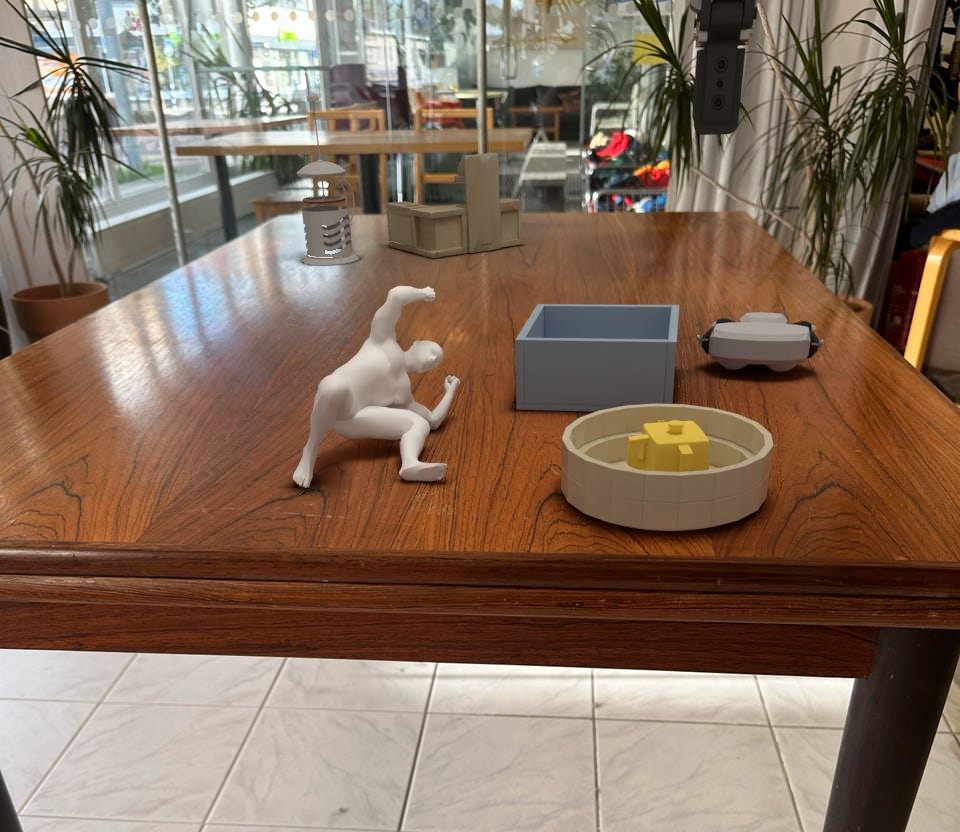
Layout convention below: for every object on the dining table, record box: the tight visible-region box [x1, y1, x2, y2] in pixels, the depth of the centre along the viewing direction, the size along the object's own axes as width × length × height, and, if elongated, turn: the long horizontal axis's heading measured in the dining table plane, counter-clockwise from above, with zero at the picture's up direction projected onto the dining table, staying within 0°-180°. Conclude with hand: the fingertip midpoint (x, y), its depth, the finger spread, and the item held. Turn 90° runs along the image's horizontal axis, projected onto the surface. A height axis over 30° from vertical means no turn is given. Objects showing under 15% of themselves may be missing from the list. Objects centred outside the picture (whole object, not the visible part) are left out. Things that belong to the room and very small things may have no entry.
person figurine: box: [292, 285, 461, 489], centre depth 79 cm, size 13×13×18 cm
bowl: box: [560, 403, 774, 532], centre depth 71 cm, size 15×15×4 cm
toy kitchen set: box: [386, 152, 523, 259], centre depth 166 cm, size 18×17×15 cm
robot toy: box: [696, 311, 825, 373], centre depth 100 cm, size 12×4×15 cm
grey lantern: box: [296, 92, 360, 266], centre depth 157 cm, size 10×12×25 cm
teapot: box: [626, 420, 709, 472], centre depth 70 cm, size 8×6×5 cm
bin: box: [514, 303, 680, 413], centre depth 93 cm, size 15×15×7 cm
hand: (712, 128), depth 52 cm, fingers open, 8 cm apart
